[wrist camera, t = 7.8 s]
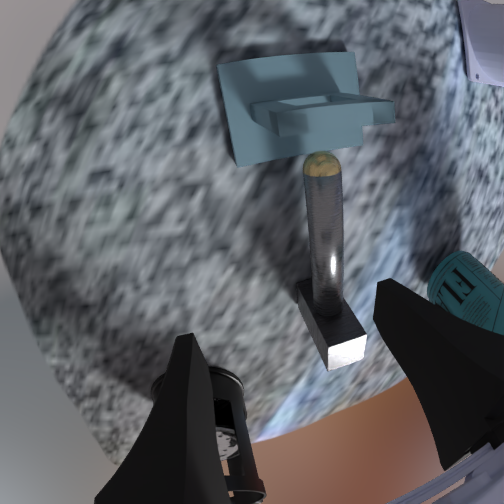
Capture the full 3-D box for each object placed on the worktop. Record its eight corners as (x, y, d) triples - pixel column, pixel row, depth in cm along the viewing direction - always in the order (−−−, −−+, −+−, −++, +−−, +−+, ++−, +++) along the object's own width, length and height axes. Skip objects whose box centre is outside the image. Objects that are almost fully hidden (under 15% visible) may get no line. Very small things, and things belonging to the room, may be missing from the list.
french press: (127, 389, 27) (138, 612, 7) (193, 348, 25) (242, 628, 6) (206, 426, 33) (239, 599, 13) (269, 395, 31) (330, 588, 12)
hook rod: (278, 142, 17) (323, 176, 12) (319, 136, 17) (378, 166, 12) (298, 307, 24) (327, 371, 19) (328, 299, 25) (363, 358, 19)
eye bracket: (216, 65, 14) (230, 55, 9) (348, 52, 15) (411, 49, 10) (235, 164, 18) (257, 202, 12) (357, 142, 18) (416, 171, 13)
